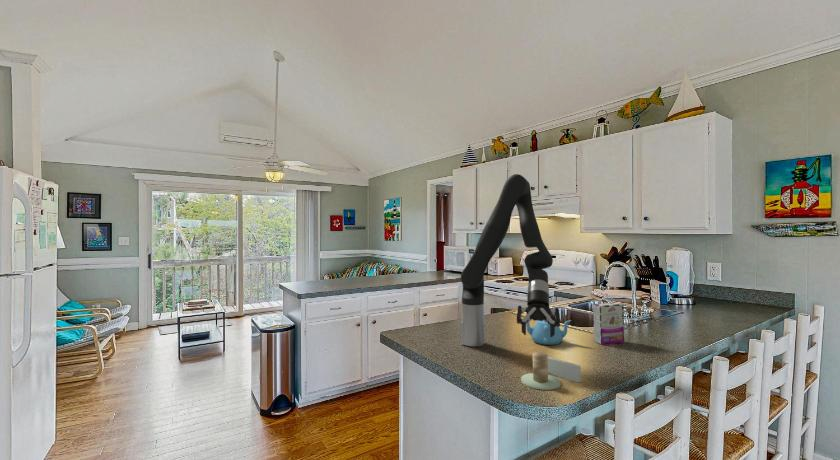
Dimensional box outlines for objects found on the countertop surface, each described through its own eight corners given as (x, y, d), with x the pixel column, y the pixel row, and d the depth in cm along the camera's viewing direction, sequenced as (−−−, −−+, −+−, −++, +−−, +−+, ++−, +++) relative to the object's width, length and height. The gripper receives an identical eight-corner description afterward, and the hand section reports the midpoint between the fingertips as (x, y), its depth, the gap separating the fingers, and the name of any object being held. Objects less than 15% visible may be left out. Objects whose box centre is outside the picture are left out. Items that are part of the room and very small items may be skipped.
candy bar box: (616, 339, 162) (615, 302, 162) (624, 343, 157) (623, 304, 157) (593, 341, 159) (592, 303, 159) (601, 345, 154) (600, 305, 154)
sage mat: (520, 387, 114) (520, 385, 114) (521, 373, 125) (521, 371, 125) (562, 392, 110) (562, 389, 110) (559, 376, 122) (559, 375, 122)
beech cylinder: (532, 381, 116) (532, 356, 116) (533, 376, 121) (532, 351, 121) (548, 383, 115) (547, 357, 115) (548, 378, 119) (547, 352, 119)
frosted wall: (534, 368, 129) (533, 354, 129) (536, 367, 130) (536, 353, 130) (578, 382, 117) (578, 366, 117) (580, 381, 118) (580, 365, 118)
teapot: (545, 348, 151) (544, 323, 151) (520, 339, 165) (520, 316, 165) (572, 344, 157) (571, 319, 157) (546, 335, 171) (546, 312, 171)
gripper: (517, 288, 135) (515, 327, 124) (559, 289, 131) (561, 330, 120) (518, 300, 140) (516, 338, 129) (558, 302, 136) (560, 342, 125)
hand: (538, 334), depth 125 cm, fingers open, 8 cm apart
